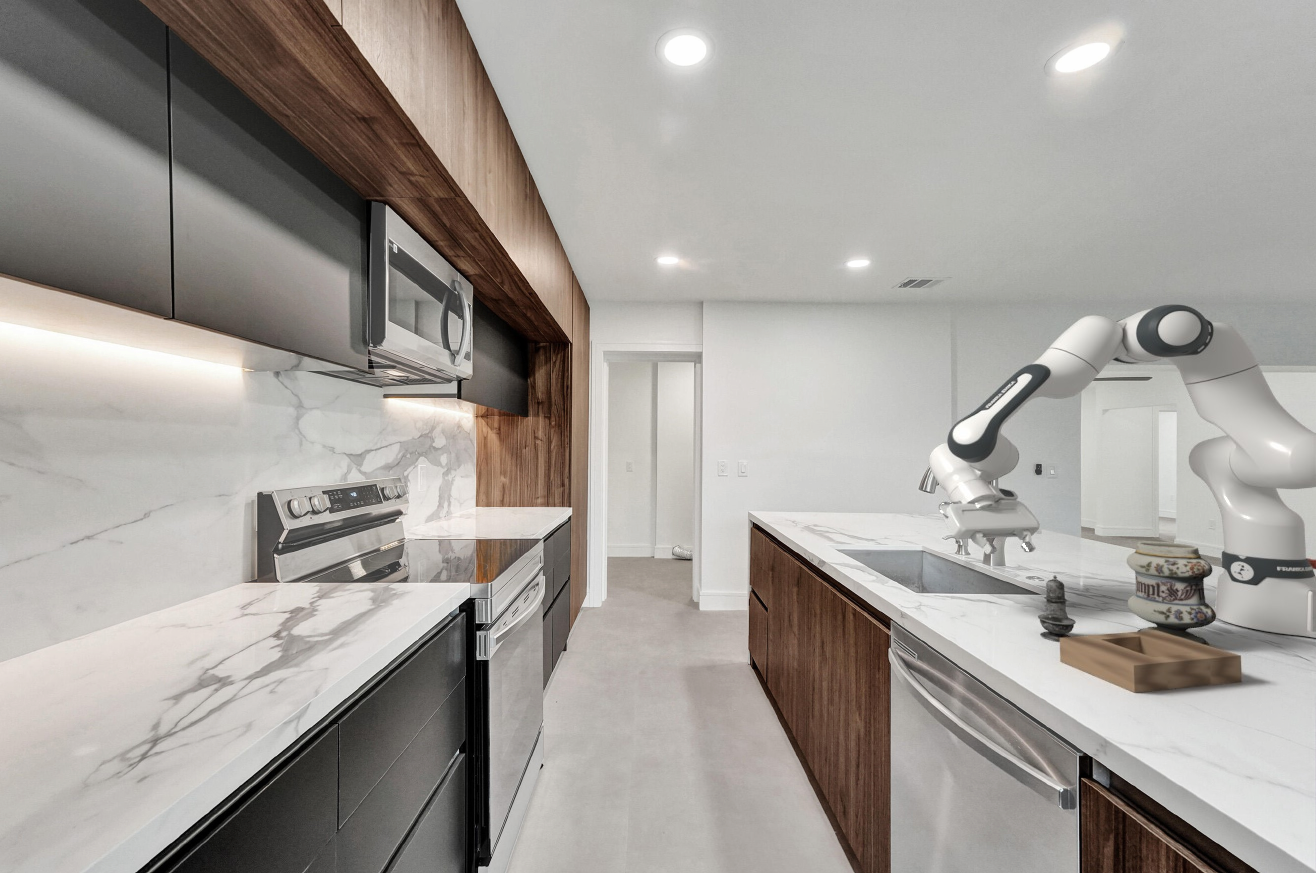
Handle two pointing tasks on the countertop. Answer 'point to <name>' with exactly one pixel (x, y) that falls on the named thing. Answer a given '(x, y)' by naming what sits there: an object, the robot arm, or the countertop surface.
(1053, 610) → the salt shaker
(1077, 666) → the wooden tray
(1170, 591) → the apothecary jar
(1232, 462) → the robot arm
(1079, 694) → the countertop surface
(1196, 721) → the countertop surface
